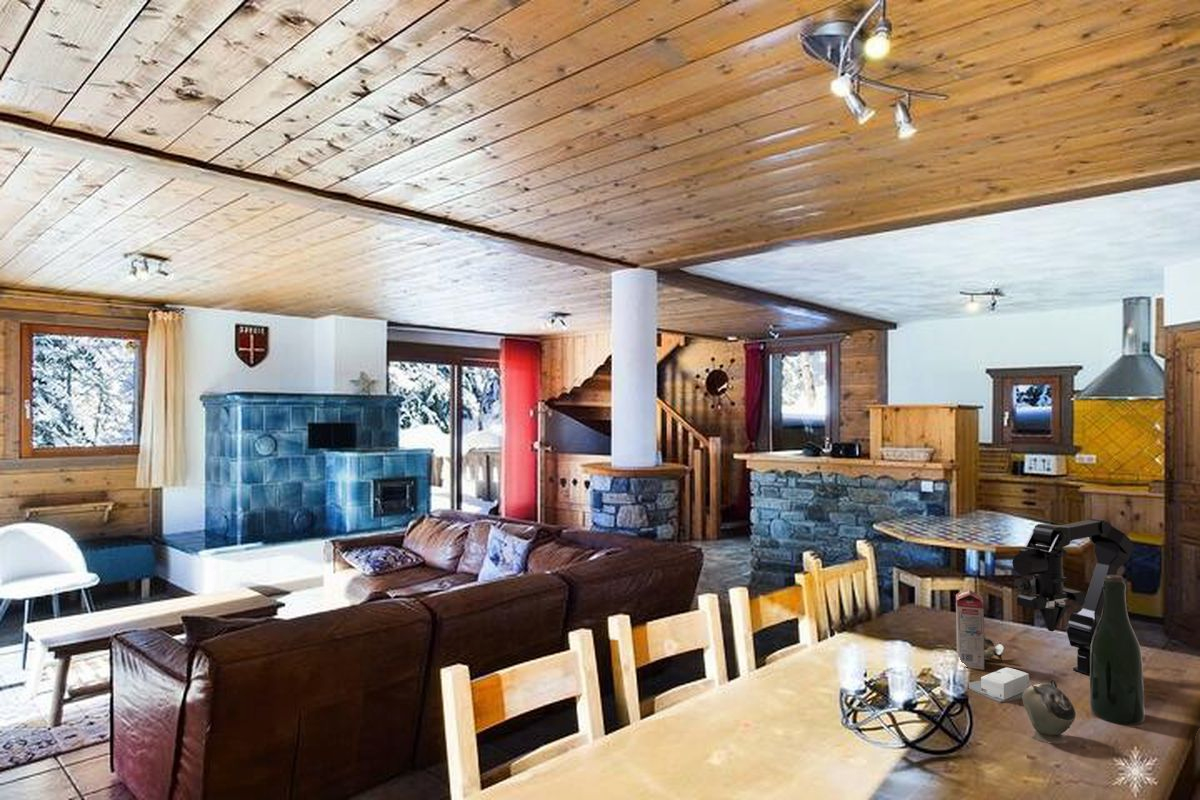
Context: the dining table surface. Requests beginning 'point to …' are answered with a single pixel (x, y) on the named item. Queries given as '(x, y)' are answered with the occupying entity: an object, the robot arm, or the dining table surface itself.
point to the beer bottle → (1116, 661)
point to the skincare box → (1004, 683)
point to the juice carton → (970, 629)
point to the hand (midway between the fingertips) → (1051, 631)
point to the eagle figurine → (992, 649)
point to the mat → (976, 687)
